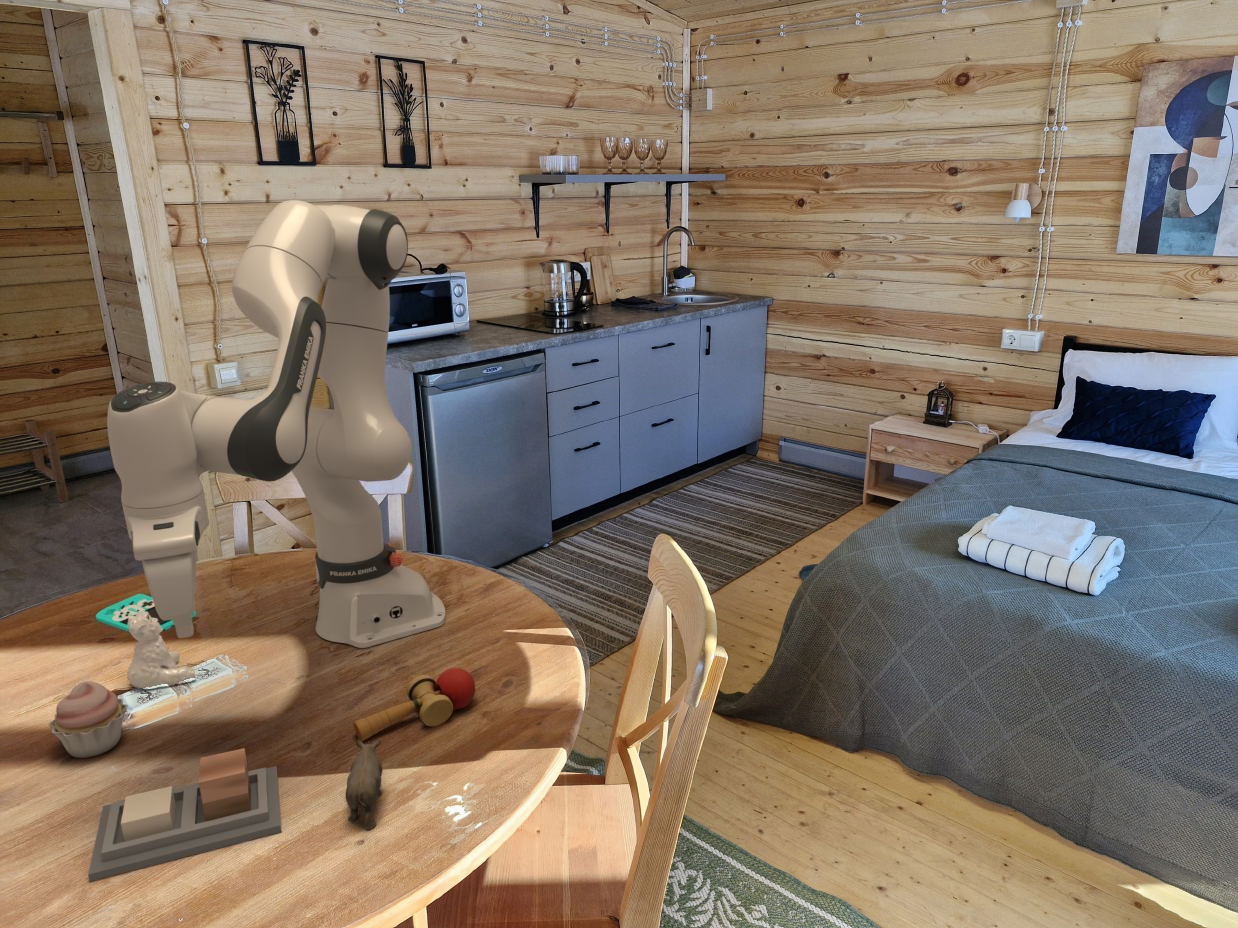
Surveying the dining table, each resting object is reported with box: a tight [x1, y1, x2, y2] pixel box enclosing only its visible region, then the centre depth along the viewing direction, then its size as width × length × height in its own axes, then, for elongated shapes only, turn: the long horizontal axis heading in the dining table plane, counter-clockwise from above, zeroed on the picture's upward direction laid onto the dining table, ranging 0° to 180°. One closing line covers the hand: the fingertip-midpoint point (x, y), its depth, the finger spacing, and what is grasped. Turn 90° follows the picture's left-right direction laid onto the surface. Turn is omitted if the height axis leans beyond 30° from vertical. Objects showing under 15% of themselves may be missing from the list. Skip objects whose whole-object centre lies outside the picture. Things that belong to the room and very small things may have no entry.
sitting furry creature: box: [126, 611, 196, 689], centre depth 132 cm, size 10×9×12 cm
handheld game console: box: [95, 593, 197, 634], centre depth 154 cm, size 10×16×1 cm, turn 63°
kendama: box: [353, 667, 476, 742], centre depth 124 cm, size 8×6×18 cm
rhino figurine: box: [345, 738, 383, 831], centre depth 108 cm, size 4×14×6 cm, turn 10°
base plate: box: [88, 765, 283, 882], centre depth 103 cm, size 20×12×4 cm, turn 113°
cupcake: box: [47, 680, 129, 759], centre depth 116 cm, size 9×9×10 cm
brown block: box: [198, 747, 251, 822], centre depth 104 cm, size 5×5×6 cm
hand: (187, 617), depth 108 cm, fingers open, 8 cm apart
